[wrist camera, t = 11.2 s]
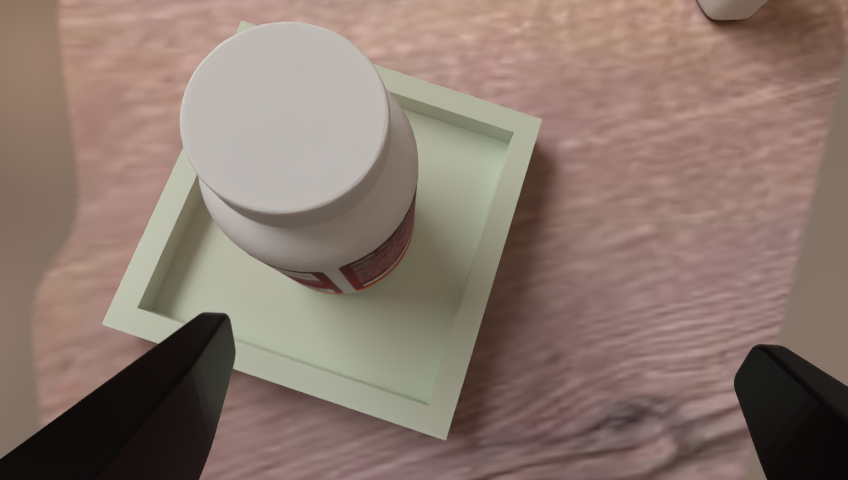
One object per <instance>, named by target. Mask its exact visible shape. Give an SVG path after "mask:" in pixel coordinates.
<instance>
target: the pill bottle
mask: <svg viewBox="0 0 848 480" xmlns="http://www.w3.org/2000/svg"><path fill="white" fill-rule="evenodd" d="M180 132H181V138H182V142H183V146H184V150H185V152H186V155H187V157H188V159H189V162H190V164H191V165H192V167H193V169H194V170H195V172H196V173H197V175H198V177H199V184H200V189H201V193H202V196H203V199H204V202H205V204H206V206H207V209H208V211H209V213H210V214H211V216H212V218H213V219H214V221H215V223H216V224H217V225H218V227H219V228H220V229H221V230H222V232H223V233H224V234H225V235H226V236H227V237H228V238H229V239H230V240H231V241H232V242H233V243H234V244H236V245H237V246H238V247H239V248H241V249H242V250H244V251H245V252H246V253H247V254H248V255H250V256H252V257H254V258H255V259H257V260H259V261H261V262H263V263H265V264H266V265H268V266H270V267H271V268H273V269H275V270H277V271H279V272H280V273H282V274H284V275H286V276H287V277H289V278H291V279H292V280H294V281H296V282H298V283H299V284H301V285H303V286H305V287H307V288H310V289H312V290H315V291H319V292H323V293H329V294H349V293H355V292H359V291H362V290H365V289H368V288H370V287H372V286H374V285H376V284H377V283H379V282H380V281H382V280H383V279H385V278H386V277H387V276H388V275H390V274H391V273H392V272H393V271H394V270H395V269H396V267H397V266H398V265H399V264H400V262H401V261H402V259H403V258H404V256H405V254H406V252H407V250H408V247H409V245H410V242H411V239H412V234H413V228H414V217H415V203H416V191H417V181H418V151H417V144H416V140H415V136H414V133H413V130H412V127H411V125H410V122H409V120H408V118H407V116H406V114H405V112H404V110H403V109H402V107H401V106H400V104H399V103H398V102H397V100H396V99H395V98H394V97H393V95H392V94H391V93H390V92H389V91H388V90H387V89H386V88H385V85H384V83H383V81H382V79H381V77H380V75H379V73H378V71H377V70H376V68H375V67H374V65H373V64H372V62H371V61H370V60H369V58H368V57H367V56H366V55H365V54H364V53H363V52H362V51H361V50H360V49H359V48H358V47H357V46H355V45H354V44H353V43H352V42H350V41H349V40H347V39H345V38H344V37H343V36H341V35H339V34H337V33H335V32H333V31H331V30H328V29H325V28H322V27H319V26H316V25H311V24H306V23H300V22H277V23H269V24H263V25H259V26H255V27H252V28H250V29H247V30H244V31H242V32H240V33H238V34H236V35H234V36H232V37H230V38H229V39H227V40H225V41H224V42H222V43H221V44H220V45H218V46H217V47H216V48H215V49H214V50H213V51H212V52H211V53H210V54H209V55H208V56H207V57H206V58H205V59H204V60H203V61H202V62H201V63H200V65H199V66H198V67H197V69H196V70H195V72H194V74H193V75H192V77H191V79H190V81H189V83H188V86H187V88H186V90H185V93H184V96H183V100H182V106H181V111H180Z"/></svg>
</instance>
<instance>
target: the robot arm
mask: <svg viewBox="0 0 848 480" xmlns="http://www.w3.org/2000/svg"><path fill="white" fill-rule="evenodd" d="M235 355H236V348H235V342H234V337H233V331H232V326H231V320H230V317H229V316H228V315H227V314H226V313H217V312H203V313H200V314H199V315H197V316H196V317H194V318H193V319H192V320H190V321H189V322H188V323H186V324H185V325H183V326H182V327H181V328H179V329H178V330H177V331H175V332H174V333H172V334H171V335H170V336H168V337H167V338H166V339H164V340H163V341H162V342H160V343H159V344H157V345H156V346H155V347H153V348H152V349H151V350H149V351H148V352H146V353H145V354H144V355H142V356H141V357H140V358H138V359H137V360H135V361H134V362H133V363H131V364H130V365H129V366H127V367H126V368H125V369H123V370H122V371H120V372H119V373H118V374H116V375H115V376H114V377H112V378H111V379H109V380H108V381H107V382H105V383H104V384H103V385H101V386H100V387H99V388H97V389H96V390H94V391H93V392H92V393H90V394H89V395H88V396H86V397H85V398H83V399H82V400H81V401H79V402H78V403H77V404H75V405H74V406H72V407H71V408H70V409H68V410H67V411H66V412H64V413H63V414H62V415H60V416H59V417H57V418H56V419H55V420H53V421H52V422H51V423H49V424H48V425H46V426H45V427H44V428H42V429H41V430H40V431H38V432H37V433H36V434H34V435H33V436H31V437H30V438H29V439H27V440H26V441H25V442H23V443H22V444H20V445H19V446H18V447H16V448H15V449H14V450H13V451H11V452H9V453H8V454H7V455H5V456H4V457H3V458H1V459H0V480H199V478H200V476H201V473H202V471H203V468H204V466H205V463H206V460H207V458H208V455H209V452H210V449H211V447H212V443H213V440H214V436H215V433H216V429H217V425H218V422H219V418H220V414H221V411H222V407H223V403H224V399H225V396H226V392H227V388H228V385H229V381H230V377H231V373H232V370H233V366H234V362H235ZM734 388H735V392H736V395H737V397H738V400H739V403H740V406H741V409H742V412H743V415H744V418H745V420H746V423H747V426H748V429H749V432H750V435H751V438H752V440H753V443H754V446H755V449H756V452H757V455H758V457H759V460H760V463H761V466H762V468H763V471H764V473H765V476H766V478H767V480H848V386H846V385H844V384H843V383H841V382H840V381H838V380H836V379H835V378H833V377H832V376H830V375H828V374H827V373H825V372H824V371H822V370H820V369H819V368H817V367H816V366H814V365H813V364H811V363H809V362H808V361H806V360H805V359H803V358H801V357H800V356H798V355H797V354H795V353H793V352H792V351H790V350H788V349H787V348H785V347H783V346H780V345H767V344H759V345H756V346H754V347H753V348H752V349H751V350H750V352H749V354H748V355H747V357H746V358H745V360H744V362H743V363H742V365H741V367H740V368H739V370H738V372H737V373H736V375H735V379H734Z"/></svg>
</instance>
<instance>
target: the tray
mask: <svg viewBox="0 0 848 480" xmlns="http://www.w3.org/2000/svg"><path fill="white" fill-rule="evenodd" d="M255 26H256V25H253V24H250V23H247V22H244V21H241V23H240V25H239V28H238V30H237V32H236V34H238V33H240V32H242V31H244V30H247V29H250V28H252V27H255ZM236 34H235V35H236ZM373 65H374V67H375V68H376V70H377V71H378V73H379V75H380V77H381V79H382V81H383V83H384V85H385V88H386V89H387V90H388V91H389V92H390V93H391V94H392V95H393V97H394V98H395V99H396V100H397V102H398V103H399V104H400V106H401V107H402V109H403V110H404V112H405V114H406V116H407V118H408V120H409V122H410V125H411V127H412V130H413V133H414V136H415V140H416V144H417V151H418V181H417V191H416V203H415V217H414V228H413V234H412V239H411V242H410V245H409V247H408V250H407V252H406V254H405V256H404V258H403V259H402V261H401V262H400V264H399V265H398V266H397V267H396V269H395V270H394V271H393V272H392V273H391V274H390V275H388V276H387V277H386V278H385V279H383V280H382V281H380V282H379V283H377V284H376V285H374V286H372V287H370V288H368V289H365V290H362V291H359V292H355V293H349V294H329V293H323V292H319V291H315V290H312V289H310V288H307V287H305V286H303V285H301V284H299V283H298V282H296V281H294V280H292V279H291V278H289V277H287V276H286V275H284V274H282V273H280V272H279V271H277V270H275V269H273V268H271V267H270V266H268V265H266V264H265V263H263V262H261V261H259V260H257V259H255V258H254V257H252V256H250V255H248V254H247V253H246V252H245V251H244V250H242V249H241V248H239V247H238V246H237V245H236V244H234V243H233V242H232V241H231V240H230V239H229V238H228V237H227V236H226V235H225V234H224V233H223V232H222V230H221V229H220V228H219V227H218V225H217V224H216V223H215V221H214V219H213V218H212V216H211V214H210V213H209V211H208V209H207V206H206V204H205V202H204V199H203V196H202V193H201V189H200V184H199V177H198V175H197V173H196V172H195V170H194V169H193V167H192V165H191V164H190V162H189V159H188V157H187V155H186V152H185V150H184V147H183V149H182V151H181V153H180V156H179V158H178V160H177V162H176V164H175V167H174V169H173V171H172V173H171V175H170V177H169V180H168V182H167V184H166V186H165V188H164V190H163V193H162V195H161V197H160V199H159V201H158V203H157V206H156V208H155V210H154V212H153V214H152V216H151V219H150V221H149V223H148V225H147V227H146V230H145V232H144V234H143V236H142V238H141V240H140V243H139V245H138V247H137V249H136V251H135V253H134V256H133V258H132V260H131V262H130V264H129V266H128V269H127V271H126V273H125V275H124V277H123V279H122V282H121V284H120V286H119V288H118V290H117V292H116V295H115V297H114V299H113V301H112V303H111V306H110V308H109V310H108V312H107V314H106V316H105V319H104V321H103V323H102V325H105V326H108V327H111V328H114V329H117V330H120V331H122V332H125V333H128V334H131V335H134V336H137V337H140V338H143V339H146V340H149V341H152V342H155V343H158V344H159V343H160V342H162V341H163V340H164V339H166V338H167V337H168V336H170V335H171V334H172V333H174V332H175V331H177V330H178V329H179V328H181V327H182V326H183V325H185V324H186V323H188V322H189V321H190V320H192V319H193V318H194V317H196V316H197V315H199V314H200V313H203V312H217V313H226V314H227V315H228V316H229V317H230V320H231V326H232V331H233V337H234V342H235V348H236V355H235V362H234V366H233V369H235V370H238V371H241V372H244V373H247V374H250V375H253V376H256V377H259V378H262V379H265V380H268V381H270V382H273V383H276V384H279V385H282V386H285V387H288V388H291V389H294V390H297V391H300V392H303V393H306V394H309V395H312V396H315V397H318V398H321V399H324V400H327V401H330V402H333V403H336V404H339V405H342V406H344V407H347V408H350V409H353V410H356V411H359V412H362V413H365V414H368V415H371V416H374V417H377V418H380V419H383V420H386V421H389V422H392V423H395V424H398V425H401V426H404V427H407V428H410V429H413V430H416V431H419V432H421V433H424V434H427V435H430V436H433V437H436V438H439V439H442V440H445V441H446V438H447V435H448V432H449V428H450V425H451V422H452V418H453V415H454V412H455V408H456V405H457V402H458V398H459V395H460V392H461V388H462V385H463V382H464V378H465V375H466V372H467V368H468V365H469V362H470V358H471V355H472V352H473V348H474V345H475V342H476V338H477V335H478V332H479V328H480V325H481V322H482V318H483V315H484V312H485V308H486V305H487V302H488V298H489V295H490V292H491V288H492V285H493V282H494V278H495V275H496V272H497V268H498V265H499V262H500V258H501V255H502V252H503V248H504V245H505V241H506V238H507V235H508V231H509V228H510V225H511V221H512V218H513V215H514V211H515V208H516V205H517V201H518V198H519V195H520V191H521V188H522V185H523V181H524V178H525V175H526V171H527V168H528V165H529V161H530V158H531V155H532V151H533V148H534V145H535V141H536V138H537V135H538V131H539V128H540V125H541V121H542V119H539V118H536V117H533V116H530V115H527V114H524V113H521V112H518V111H515V110H512V109H509V108H506V107H503V106H500V105H497V104H494V103H491V102H488V101H484V100H481V99H478V98H475V97H472V96H469V95H466V94H463V93H460V92H457V91H454V90H451V89H448V88H445V87H442V86H439V85H436V84H433V83H430V82H427V81H424V80H421V79H418V78H414V77H411V76H408V75H405V74H402V73H399V72H396V71H393V70H390V69H387V68H384V67H381V66H378V65H375V64H373Z"/></svg>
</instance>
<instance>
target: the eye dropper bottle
mask: <svg viewBox="0 0 848 480" xmlns="http://www.w3.org/2000/svg"><path fill="white" fill-rule="evenodd" d="M697 1H698V3H699V5H700V7H701V8H702V10H703V11H704V13H705V14H706V15H707V16H708V17H710V18H711V19H714V20H743V19H746V18H749V17H751V16H752V15H753V14H754V13H755V12H756V11H757V10H758V9H759V8H761V7H762V6H763V5H764V4H765V3H766V2H767V1H768V0H697Z"/></svg>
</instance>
